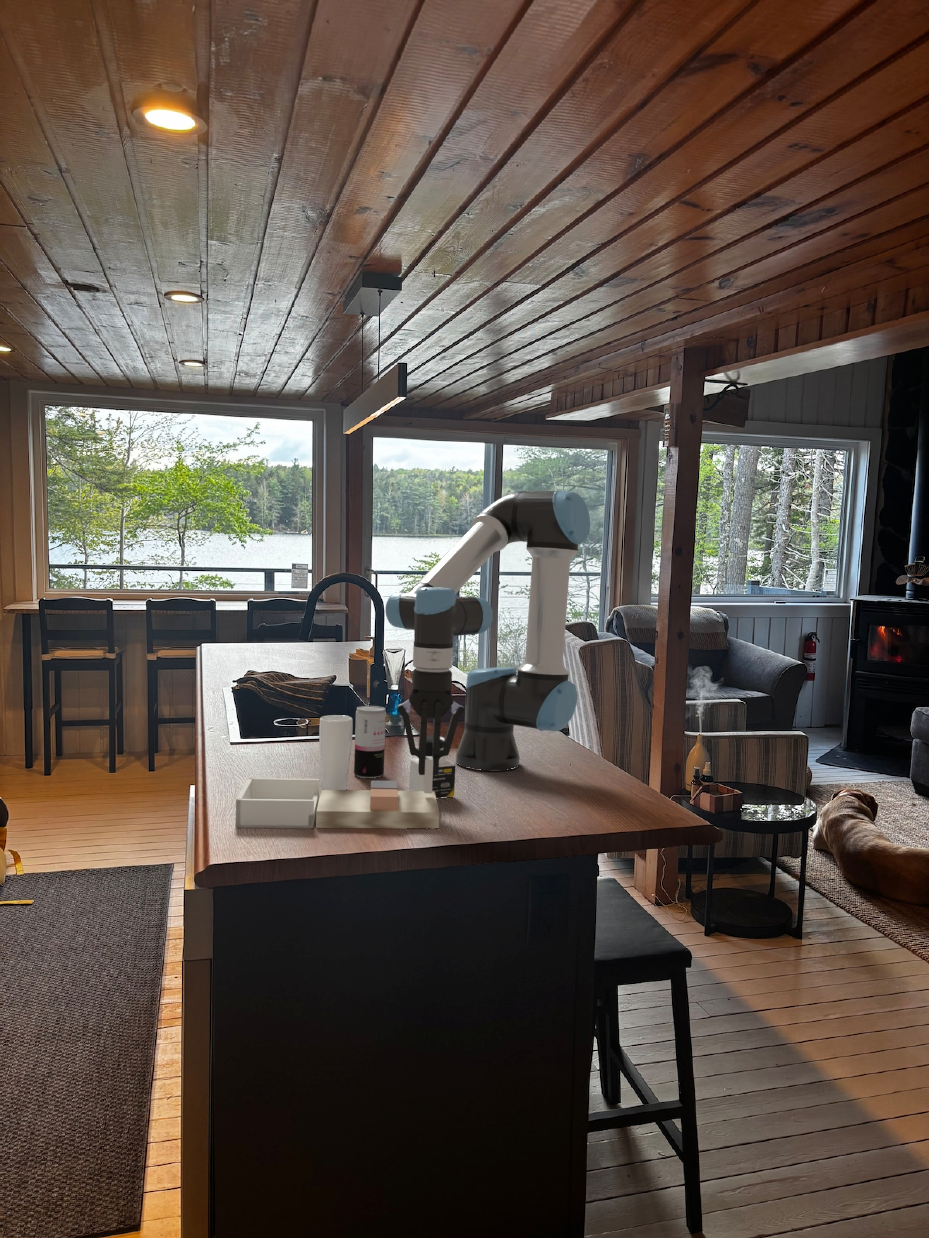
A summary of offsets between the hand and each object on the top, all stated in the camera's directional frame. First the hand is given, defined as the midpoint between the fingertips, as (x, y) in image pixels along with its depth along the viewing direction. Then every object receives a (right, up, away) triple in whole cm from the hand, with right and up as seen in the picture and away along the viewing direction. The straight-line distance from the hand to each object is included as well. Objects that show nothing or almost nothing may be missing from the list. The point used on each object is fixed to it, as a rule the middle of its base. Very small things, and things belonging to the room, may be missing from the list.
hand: (427, 791), depth 167 cm
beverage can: (-14, -2, +26) cm, 30 cm away
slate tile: (-8, -1, -1) cm, 8 cm away
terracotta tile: (-8, -1, -7) cm, 10 cm away
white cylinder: (-20, -3, +14) cm, 24 cm away
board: (-9, -4, -3) cm, 10 cm away
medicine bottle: (0, -4, +13) cm, 13 cm away
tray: (-27, -4, -5) cm, 28 cm away
